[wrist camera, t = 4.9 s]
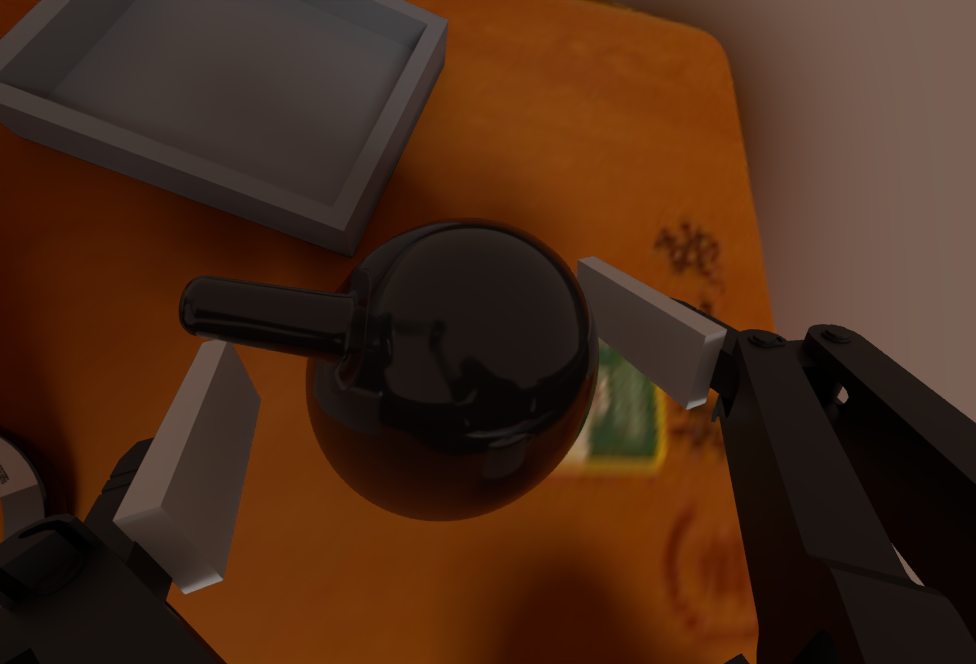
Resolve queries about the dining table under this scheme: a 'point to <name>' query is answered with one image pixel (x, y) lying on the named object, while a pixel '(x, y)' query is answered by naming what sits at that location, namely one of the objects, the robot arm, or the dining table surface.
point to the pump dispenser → (430, 363)
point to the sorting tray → (231, 99)
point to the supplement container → (26, 485)
